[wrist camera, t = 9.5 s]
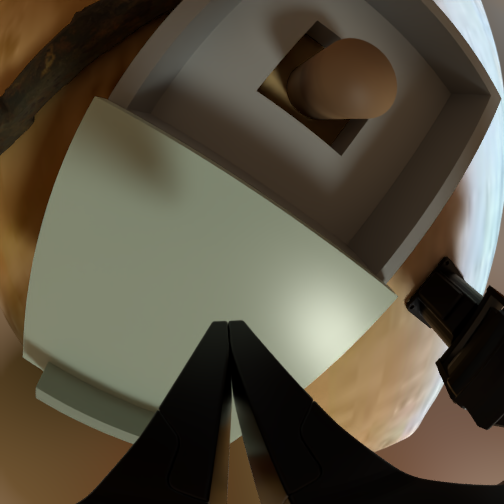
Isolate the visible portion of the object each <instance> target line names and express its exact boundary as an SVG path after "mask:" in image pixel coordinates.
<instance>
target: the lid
mask: <svg viewBox="0 0 504 504" xmlns="http://www.w3.org/2000/svg"><path fill="white" fill-rule="evenodd" d="M397 297H398V296H397V295H396V294H395V293H394V292H393V291H392V289H391V288H390V287H389V286H388V285H386V284H385V283H384V282H383V281H381V280H380V279H379V278H378V277H376V276H375V275H374V274H372V273H371V272H370V271H369V270H367V269H366V268H365V267H364V266H362V265H361V264H360V263H358V262H357V261H356V260H354V259H353V258H352V257H350V256H349V255H348V254H347V253H345V252H344V251H343V250H341V249H340V248H339V247H337V246H336V245H335V244H333V243H332V242H331V241H329V240H328V239H326V238H325V237H324V236H322V235H321V234H320V233H318V232H317V231H316V230H314V229H313V228H311V227H310V226H309V225H307V224H306V223H304V222H303V221H302V220H300V219H299V218H297V217H296V216H295V215H293V214H292V213H290V212H289V211H287V210H286V209H285V208H283V207H282V206H280V205H279V204H277V203H276V202H274V201H273V200H272V199H270V198H269V197H267V196H266V195H264V194H263V193H261V192H260V191H258V190H257V189H255V188H254V187H252V186H251V185H249V184H248V183H246V182H245V181H243V180H242V179H240V178H239V177H237V176H236V175H234V174H232V173H231V172H229V171H228V170H226V169H225V168H223V167H222V166H220V165H218V164H217V163H215V162H214V161H212V160H211V159H209V158H207V157H206V156H204V155H203V154H201V153H199V152H198V151H196V150H194V149H193V148H191V147H190V146H188V145H186V144H185V143H183V142H181V141H180V140H178V139H176V138H175V137H173V136H171V135H170V134H168V133H166V132H164V131H163V130H161V129H159V128H158V127H156V126H154V125H152V124H151V123H149V122H147V121H145V120H144V119H142V118H140V117H138V116H137V115H135V114H133V113H131V112H129V111H128V110H126V109H124V108H122V107H120V106H118V105H117V104H115V103H113V102H111V101H109V100H107V99H105V98H101V97H96V96H95V97H94V99H93V101H92V102H91V104H90V106H89V108H88V110H87V111H86V113H85V115H84V117H83V119H82V121H81V123H80V125H79V127H78V129H77V131H76V133H75V135H74V138H73V140H72V142H71V144H70V146H69V149H68V151H67V153H66V156H65V158H64V161H63V163H62V165H61V168H60V171H59V173H58V176H57V178H56V181H55V184H54V187H53V190H52V193H51V196H50V199H49V202H48V205H47V208H46V211H45V215H44V218H43V222H42V225H41V229H40V233H39V237H38V241H37V245H36V250H35V254H34V259H33V264H32V270H31V275H30V281H29V288H28V295H27V303H26V312H25V323H24V340H23V358H25V359H26V360H28V361H29V362H31V363H32V364H34V365H35V366H37V367H38V368H40V369H42V370H43V371H44V372H43V374H42V376H41V378H40V380H39V382H38V384H37V386H36V398H37V399H39V400H41V401H42V402H44V403H46V404H47V405H49V406H51V407H53V408H54V409H56V410H58V411H60V412H62V413H64V414H66V415H68V416H69V417H71V418H73V419H75V420H77V421H80V422H82V423H84V424H86V425H88V426H90V427H92V428H95V429H97V430H99V431H102V432H104V433H106V434H109V435H111V436H114V437H117V438H119V439H122V440H125V441H127V442H130V443H132V444H134V443H135V442H136V440H137V439H138V438H139V436H140V435H141V434H142V432H143V431H144V429H145V428H146V426H147V425H148V423H149V422H150V420H151V419H152V417H153V415H154V414H155V412H156V411H157V410H159V409H158V408H159V406H160V404H161V403H162V401H163V400H164V398H165V397H166V395H167V393H168V392H169V390H170V389H171V387H172V385H173V384H174V382H175V381H176V379H177V377H178V376H179V374H180V373H181V371H182V369H183V368H184V366H185V365H186V363H187V361H188V360H189V358H190V357H191V355H192V353H193V352H194V350H195V348H196V347H197V345H198V344H199V342H200V340H201V339H202V337H203V336H204V334H205V332H206V331H207V329H208V328H209V326H210V324H211V323H212V322H213V321H227V322H229V321H231V320H243V321H244V322H245V323H246V324H247V325H248V326H249V328H250V329H251V330H252V331H253V332H254V333H255V335H256V336H257V337H258V338H259V339H260V341H261V342H262V343H263V344H264V345H265V346H266V347H267V349H268V350H269V351H270V352H271V353H272V354H273V355H274V357H275V358H276V359H277V360H278V361H279V362H280V363H281V365H282V366H283V367H284V368H285V369H286V370H287V371H288V372H289V373H290V375H291V376H292V377H293V378H294V379H295V380H296V381H297V382H298V383H299V385H300V386H301V387H302V388H303V389H305V388H306V387H307V386H308V385H309V384H311V383H312V382H313V381H314V380H315V379H316V378H318V377H319V376H320V375H321V374H322V373H323V372H324V371H325V370H327V369H328V368H329V367H330V366H331V365H332V364H333V363H334V362H335V361H336V360H337V359H339V358H340V357H341V356H342V355H343V354H344V353H345V352H346V351H347V350H348V349H349V348H350V347H351V346H352V345H353V344H354V343H355V342H356V341H357V340H358V339H359V338H360V337H361V336H362V335H363V334H364V333H365V332H366V331H367V330H368V329H369V328H370V327H371V326H372V325H373V324H374V323H375V322H376V321H377V319H378V318H379V317H380V316H381V315H382V314H383V313H384V312H385V311H386V310H387V309H388V307H389V306H390V305H391V304H392V303H393V302H394V301H395V299H396V298H397ZM231 382H232V381H231ZM240 436H242V433H241V429H240V425H239V420H238V416H237V412H236V408H235V404H234V399H233V392H232V412H231V430H230V443H231V442H233V441H234V440H236V439H237V438H239V437H240Z"/></svg>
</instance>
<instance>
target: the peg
mask: <svg viewBox="0 0 504 504" xmlns="http://www.w3.org/2000/svg"><path fill="white" fill-rule="evenodd" d="M287 93H288V97H289V99H290V102H291V103H292V105H293V106H294V108H295V109H296V110H297V111H298V112H300V113H301V114H302V115H304V116H306V117H308V118H311V119H317V120H325V119H370V118H376V117H379V116H381V115H383V114H384V113H386V112H387V111H388V110H389V109H390V107H391V106H392V104H393V103H394V100H395V98H396V94H397V79H396V75H395V72H394V69H393V67H392V65H391V63H390V61H389V60H388V59H387V57H386V56H385V55H384V54H383V53H382V52H381V51H380V50H379V49H378V48H377V47H375V46H374V45H372V44H371V43H369V42H366V41H364V40H361V39H356V38H345V39H341V40H338V41H336V42H334V43H332V44H331V45H329V46H328V47H326V48H325V49H323V50H322V51H320V52H319V53H317V54H316V55H314V56H313V57H311V58H310V59H308V60H307V61H305V62H304V63H303V64H301V65H300V66H298V67H297V68H296V69H295V70H294V71H293V72H292V73H291V75H290V77H289V79H288V83H287Z"/></svg>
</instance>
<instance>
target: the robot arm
mask: <svg viewBox="0 0 504 504" xmlns="http://www.w3.org/2000/svg"><path fill="white" fill-rule="evenodd" d="M503 306H504V295H502V294H501V293H500V292H498V291H497V290H496V289H494V288H493V287H491V286H490V285H489V287H488V288H487V292H486V293H485V295H484V297H483V296H482V295H481V294H479V293H478V292H477V291H476V290H475V289H474V288H472V287H471V286H470V285H469V284H468V283H467V282H465V280H464V279H463V277H462V276H461V274H460V273H459V271H458V270H457V268H456V267H455V265H454V264H453V263H452V261H451V260H450V259H449V258H448V257H444V258H443V259H442V261H441V262H440V263H439V265H438V266H437V267H436V269H435V270H434V271H433V273H432V274H431V275H430V277H429V278H428V279H427V280H426V282H425V283H424V284H423V285H422V287H421V288H420V289H419V290H418V292H417V293H416V294H415V295H414V296H413V298H412V299H411V300H410V301H409V302H408V303H407V305H406V308H407V310H408V311H409V312H411V313H412V314H413V315H414V316H416V317H417V318H418V319H419V320H421V321H422V322H423V323H424V324H426V325H427V326H428V327H429V328H432V329H433V330H434V331H435V332H436V333H437V334H438V336H439V337H440V338H441V339H442V340H443V341H444V343H445V344H446V345H447V346H448V349H447V350H446V352H445V353H444V354H443V355H442V357H441V358H439V359H438V360H437V362H436V366H437V368H438V371H439V373H440V375H441V377H442V380H443V382H444V384H445V386H446V389H447V391H448V393H449V395H450V398H451V399H452V400H453V402H454V403H455V404H458V405H459V406H460V407H461V408H464V409H466V410H468V412H469V413H470V415H471V416H472V418H473V419H474V421H475V422H476V424H477V426H479V427H481V428H484V429H486V430H488V429H490V428H491V427H492V426H493V425H494V426H499V427H504V308H503V310H501V308H502V307H503ZM231 381H232V382H231ZM232 392H233V399H234V404H235V408H236V412H237V416H238V420H239V425H240V429H241V433H242V436H243V441H244V444H245V448H246V452H247V456H248V460H249V463H250V467H251V470H252V474H253V478H254V482H255V485H256V489H257V492H258V495H259V499H260V502H261V504H504V481H502V482H501V483H499V484H498V485H472V484H458V483H449V482H440V481H433V480H427V479H422V478H418V477H414V476H411V475H409V474H406V473H404V472H402V471H400V470H399V469H397V468H395V467H394V466H392V465H391V464H390V463H388V462H387V461H385V460H384V459H382V458H381V457H380V456H378V455H377V454H375V453H374V452H373V451H371V450H370V449H369V448H367V447H366V446H365V445H363V444H362V443H360V442H359V441H358V440H357V439H355V438H354V437H353V436H352V435H350V434H349V433H348V432H347V431H345V430H344V429H343V428H342V427H341V426H339V425H338V424H337V423H336V422H335V421H334V420H333V419H332V418H331V417H330V416H329V415H328V414H327V413H326V412H325V411H324V410H323V409H322V408H321V407H320V406H319V405H318V404H317V403H316V402H315V401H313V399H312V397H311V396H310V395H309V394H308V393H307V392H306V391H305V390H304V389H303V388H302V387H301V386H300V385H299V383H298V382H297V381H296V380H295V379H294V378H293V377H292V376H291V375H290V373H289V372H288V371H287V370H286V369H285V368H284V367H283V366H282V365H281V363H280V362H279V361H278V360H277V359H276V358H275V357H274V355H273V354H272V353H271V352H270V351H269V350H268V349H267V347H266V346H265V345H264V344H263V343H262V342H261V341H260V339H259V338H258V337H257V336H256V335H255V333H254V332H253V331H252V330H251V329H250V328H249V326H248V325H247V324H246V323H245V322H244V321H243V320H231V321H229V322H227V321H213V322H212V323H211V324H210V326H209V328H208V329H207V331H206V332H205V334H204V336H203V337H202V339H201V340H200V342H199V344H198V345H197V347H196V348H195V350H194V352H193V353H192V355H191V357H190V358H189V360H188V361H187V363H186V365H185V366H184V368H183V369H182V371H181V373H180V374H179V376H178V377H177V379H176V381H175V382H174V384H173V385H172V387H171V389H170V390H169V392H168V393H167V395H166V397H165V398H164V400H163V401H162V403H161V404H160V406H159V408H158V409H159V410H157V411H156V412H155V414H154V415H153V417H152V419H151V420H150V422H149V423H148V425H147V426H146V428H145V429H144V431H143V432H142V434H141V435H140V436H139V438H138V439H137V440H136V442H135V443H134V444H133V445H132V447H131V448H130V449H129V450H128V452H127V453H126V454H125V455H124V456H123V458H122V459H121V460H120V461H119V462H118V463H117V464H116V466H115V467H114V468H113V469H112V470H111V471H110V472H109V474H108V475H107V476H106V477H105V478H104V479H103V480H102V481H101V483H100V484H99V485H98V486H97V487H96V488H95V489H94V490H93V491H92V492H91V493H90V494H89V495H88V496H87V497H86V498H84V499H83V500H81V501H80V502H78V503H76V504H227V489H228V468H229V449H230V430H231V412H232Z"/></svg>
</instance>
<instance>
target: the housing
mask: <svg viewBox="0 0 504 504" xmlns="http://www.w3.org/2000/svg"><path fill="white" fill-rule="evenodd" d="M305 33H306V34H308V35H309V36H310V37H312V38H313V39H314V40H316V41H317V42H318V43H320V44H321V45H322V46H324V47H325V48H326V47H328V46H329V45H331V44H332V43H334V42H336V41H338V40H341V39H345V38H356V39H361V40H364V41H366V42H369V43H371V44H372V45H374V46H375V47H377V48H378V49H379V50H380V51H381V52H382V53H383V54H384V55H385V56H386V57H387V59H388V60H389V61H390V63H391V65H392V67H393V69H394V72H395V75H396V79H397V94H396V98H395V100H394V103H393V104H392V106H391V107H390V109H389V110H388V111H387V112H386V113H384V114H383V115H381V116H379V117H376V118H370V119H350V121H349V122H348V123H347V125H346V126H345V127H344V129H343V130H342V131H341V133H340V134H339V135H338V137H337V138H336V139H335V141H334V142H333V143H332V145H331V146H329V145H328V144H326V143H325V142H324V141H323V140H322V139H320V138H319V137H318V136H317V135H315V134H314V133H313V132H312V131H310V130H309V129H308V128H307V127H305V126H304V125H303V124H301V123H300V122H299V121H298V120H296V119H295V118H294V117H292V116H291V115H290V114H288V113H287V112H286V111H284V110H283V109H281V108H280V107H279V106H277V105H276V104H275V103H273V102H272V101H270V100H269V99H267V98H266V97H264V96H263V95H262V94H260V93H259V92H257V89H258V88H259V87H260V85H261V84H262V83H263V82H264V81H265V79H266V78H267V77H268V76H269V74H270V73H271V72H272V71H273V70H274V68H275V67H276V66H277V65H278V64H279V62H280V61H281V60H282V59H283V58H284V57H285V55H286V54H287V53H288V52H289V51H290V50H291V48H292V47H293V46H294V45H295V44H296V43H297V42H298V41H299V40H300V38H301V37H302V36H303V35H304V34H305ZM108 100H109V101H111V102H113V103H115V104H117V105H118V106H120V107H122V108H124V109H126V110H128V111H129V112H131V113H133V114H135V115H137V116H138V117H140V118H142V119H144V120H145V121H147V122H149V123H151V124H152V125H154V126H156V127H158V128H159V129H161V130H163V131H164V132H166V133H168V134H170V135H171V136H173V137H175V138H176V139H178V140H180V141H181V142H183V143H185V144H186V145H188V146H190V147H191V148H193V149H194V150H196V151H198V152H199V153H201V154H203V155H204V156H206V157H207V158H209V159H211V160H212V161H214V162H215V163H217V164H218V165H220V166H222V167H223V168H225V169H226V170H228V171H229V172H231V173H232V174H234V175H236V176H237V177H239V178H240V179H242V180H243V181H245V182H246V183H248V184H249V185H251V186H252V187H254V188H255V189H257V190H258V191H260V192H261V193H263V194H264V195H266V196H267V197H269V198H270V199H272V200H273V201H274V202H276V203H277V204H279V205H280V206H282V207H283V208H285V209H286V210H287V211H289V212H290V213H292V214H293V215H295V216H296V217H297V218H299V219H300V220H302V221H303V222H304V223H306V224H307V225H309V226H310V227H311V228H313V229H314V230H316V231H317V232H318V233H320V234H321V235H322V236H324V237H325V238H326V239H328V240H329V241H331V242H332V243H333V244H335V245H336V246H337V247H339V248H340V249H341V250H343V251H344V252H345V253H347V254H348V255H349V256H350V257H352V258H353V259H354V260H356V261H357V262H358V263H360V264H361V265H362V266H364V267H365V268H366V269H367V270H369V271H370V272H371V273H372V274H374V275H375V276H376V277H378V278H379V279H380V280H381V281H383V282H384V283H385V284H386V283H387V282H388V281H389V280H390V279H391V277H392V276H393V275H394V274H395V273H396V271H397V270H398V269H399V268H400V266H401V265H402V264H403V263H404V261H405V260H406V259H407V257H408V256H409V255H410V254H411V252H412V251H413V250H414V248H415V247H416V246H417V244H418V243H419V242H420V240H421V239H422V237H423V236H424V235H425V233H426V232H427V231H428V229H429V228H430V226H431V225H432V223H433V222H434V221H435V219H436V218H437V216H438V215H439V213H440V212H441V210H442V209H443V207H444V206H445V204H446V203H447V201H448V200H449V198H450V196H451V195H452V193H453V192H454V190H455V188H456V187H457V185H458V183H459V182H460V180H461V178H462V177H463V175H464V173H465V172H466V170H467V168H468V166H469V165H470V163H471V161H472V159H473V157H474V155H475V154H476V152H477V150H478V148H479V146H480V144H481V142H482V140H483V138H484V136H485V134H486V132H487V130H488V128H489V126H490V124H491V121H492V119H493V117H494V115H495V113H496V110H497V108H498V106H499V103H500V101H501V97H500V95H499V93H498V91H497V89H496V87H495V86H494V84H493V82H492V80H491V79H490V77H489V75H488V73H487V72H486V70H485V68H484V67H483V65H482V64H481V62H480V61H479V59H478V57H477V56H476V54H475V53H474V52H473V50H472V49H471V47H470V46H469V44H468V43H467V42H466V40H465V39H464V37H463V36H462V35H461V33H460V32H459V31H458V30H457V28H456V27H455V26H454V24H453V23H452V22H451V21H450V20H449V18H448V17H447V16H446V15H445V14H444V12H443V11H442V10H441V9H440V8H439V7H438V6H437V5H436V4H435V2H434V1H433V0H183V1H182V2H181V3H180V4H179V5H178V6H177V7H176V8H175V9H174V10H173V11H172V13H171V14H170V15H169V16H168V17H167V18H166V19H165V20H164V22H163V23H162V24H161V25H160V26H159V27H158V29H157V30H156V31H155V32H154V33H153V35H152V36H151V37H150V38H149V40H148V41H147V42H146V44H145V45H144V46H143V48H142V49H141V50H140V52H139V53H138V54H137V56H136V57H135V58H134V60H133V61H132V63H131V64H130V65H129V67H128V68H127V70H126V71H125V73H124V74H123V76H122V77H121V79H120V80H119V82H118V84H117V85H116V87H115V88H114V90H113V92H112V93H111V95H110V96H109V98H108Z"/></svg>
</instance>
